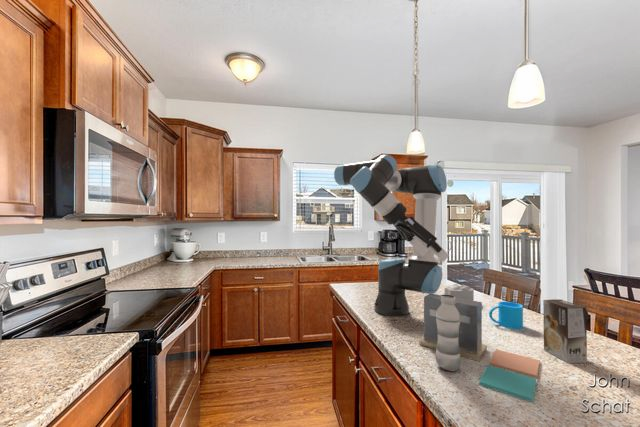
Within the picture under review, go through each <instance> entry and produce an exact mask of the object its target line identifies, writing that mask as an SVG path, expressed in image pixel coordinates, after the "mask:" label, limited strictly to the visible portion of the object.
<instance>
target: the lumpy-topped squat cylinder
mask: <svg viewBox="0 0 640 427" xmlns="http://www.w3.org/2000/svg"><path fill="white" fill-rule="evenodd" d="M443 291H444V293H443V294H447V295H453V296H455V298H460V299H466V300H472V301H475V300H474V298H475V296H474V288H473V287H470V286H468V285H466V284H460V285H459V284H458V283H453V284H448V285H446V286H444V290H443Z"/></svg>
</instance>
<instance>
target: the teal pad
mask: <svg viewBox="0 0 640 427" xmlns="http://www.w3.org/2000/svg"><path fill="white" fill-rule="evenodd" d="M478 385H479V386H483V387H485V388H488V389H492V390H494V391H497V392H500V393H504V394H507V395H510V396H513V397H516V398H519V399H522V400H525V401H528V402H531V403H533V401H534V397H535V390H536V386H537V379H536V378H533V377H529V376H526V375H522V374H519V373H515V372H512V371H508V370H505V369H501V368H498V367H494V366H491V365H489V364H487V365H486V368H485V369H484V371H483V372H482V375H481V377H480V378H479V380H478Z"/></svg>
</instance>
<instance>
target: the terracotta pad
mask: <svg viewBox="0 0 640 427" xmlns="http://www.w3.org/2000/svg"><path fill="white" fill-rule="evenodd" d="M540 363H541V362H540V359H536V358H534V357H528V356H526V355H521V354H517V353H512V352H510V351H509V352H508V351H504V350H500V349H497V348H496V349H495V350H494V353H493V355H492V356H491V358H490V360H489V362H488V365H490V366H493V367H497V368H500V369H504V370H507V371H511V372H514V373H518V374H522V375H525V376H529V377H532V378H536V380H537V379H538V374H539V369H540Z"/></svg>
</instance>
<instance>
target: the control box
mask: <svg viewBox="0 0 640 427" xmlns="http://www.w3.org/2000/svg"><path fill="white" fill-rule="evenodd" d="M441 295H442V294H436V293H434V294H427V295H425V296H424V297H423V336H422V337H421V338H419V339H418V344H419V346H423V347H427V348H431V349H434V350H436V349H437V341H438V332H437V322H436V314H435V313H436V310H437V309H438V307H439V306H440V305H441V304H442V303H441ZM455 302H456V304H454V305H455V307H456V308H457V310H458V311H459V313H460V316H461V320H460V326H459V336H458V337H459V339H458V342H459V353H460V357H461V358H462V357H463V358H465V359H469V360H472V361H476V362H481V361H482V359H483V358H484V355H485V354H486V352H487V351H488V345H487V344H483V343H482V342H483V341H482V338H483V335H482V334H483V333H482V331H483V328H482V326H483V322H482V320H483V319H482V318H483V317H482V316H483V313H482V312H483V309H482V308H483V305H482V304H483V301H477V300H474V301H472V300H466V299H460V298H455Z"/></svg>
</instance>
